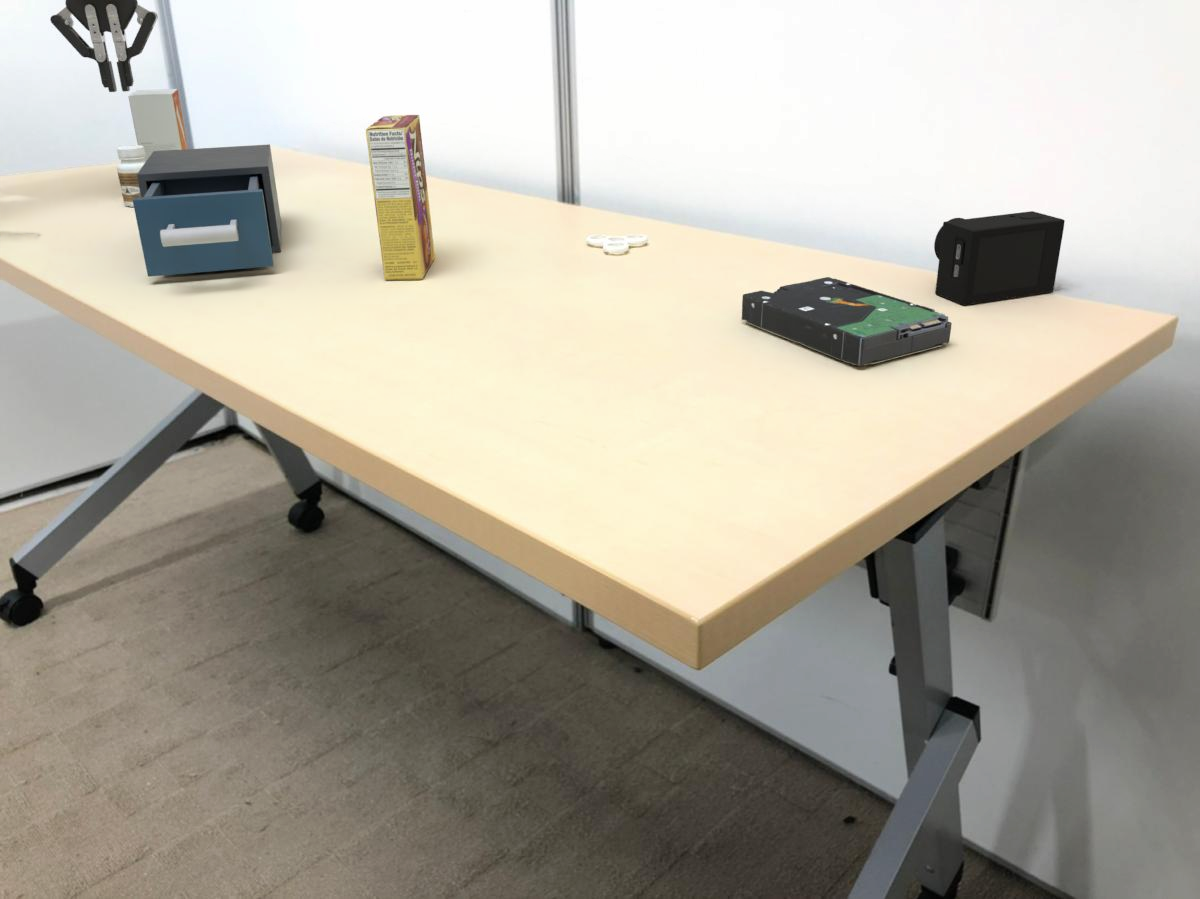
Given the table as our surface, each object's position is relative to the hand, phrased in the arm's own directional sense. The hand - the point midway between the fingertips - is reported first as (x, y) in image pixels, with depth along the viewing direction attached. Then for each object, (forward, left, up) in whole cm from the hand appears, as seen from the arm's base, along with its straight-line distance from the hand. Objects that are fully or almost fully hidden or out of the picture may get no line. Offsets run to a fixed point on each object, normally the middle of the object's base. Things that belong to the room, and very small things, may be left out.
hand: (119, 90), depth 141 cm
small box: (+2, +19, -15) cm, 24 cm away
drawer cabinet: (+12, -27, -15) cm, 33 cm away
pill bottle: (0, 0, -15) cm, 15 cm away
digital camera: (+84, -75, -15) cm, 114 cm away
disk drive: (+65, -82, -15) cm, 106 cm away
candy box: (+32, -48, -15) cm, 60 cm away
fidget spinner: (+56, -46, -15) cm, 74 cm away
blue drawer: (+12, -40, -14) cm, 44 cm away
